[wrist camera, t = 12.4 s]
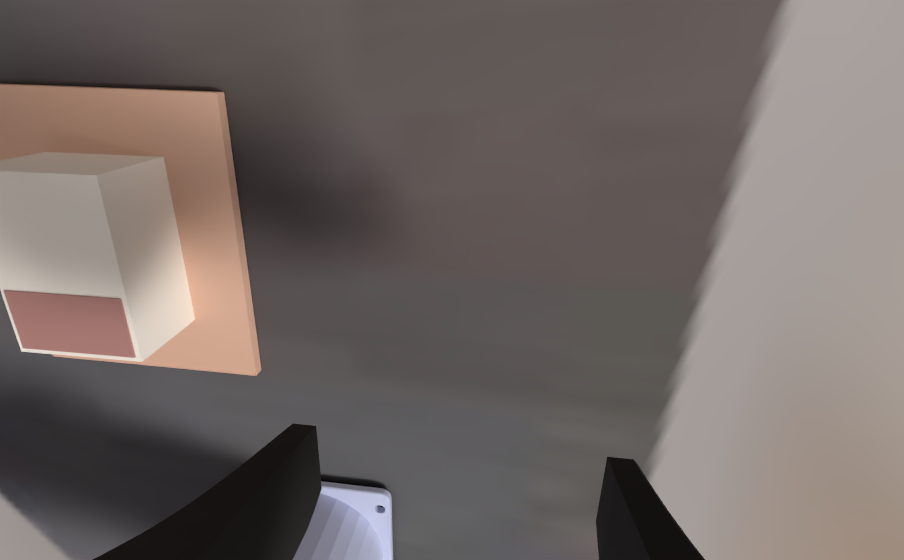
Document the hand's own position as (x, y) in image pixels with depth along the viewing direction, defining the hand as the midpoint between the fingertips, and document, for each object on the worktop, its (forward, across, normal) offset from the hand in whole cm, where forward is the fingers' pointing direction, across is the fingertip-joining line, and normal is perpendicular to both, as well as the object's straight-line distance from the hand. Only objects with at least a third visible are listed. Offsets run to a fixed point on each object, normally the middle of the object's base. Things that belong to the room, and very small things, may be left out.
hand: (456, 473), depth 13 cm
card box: (+9, +15, -2) cm, 18 cm away
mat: (+9, +15, -2) cm, 18 cm away
